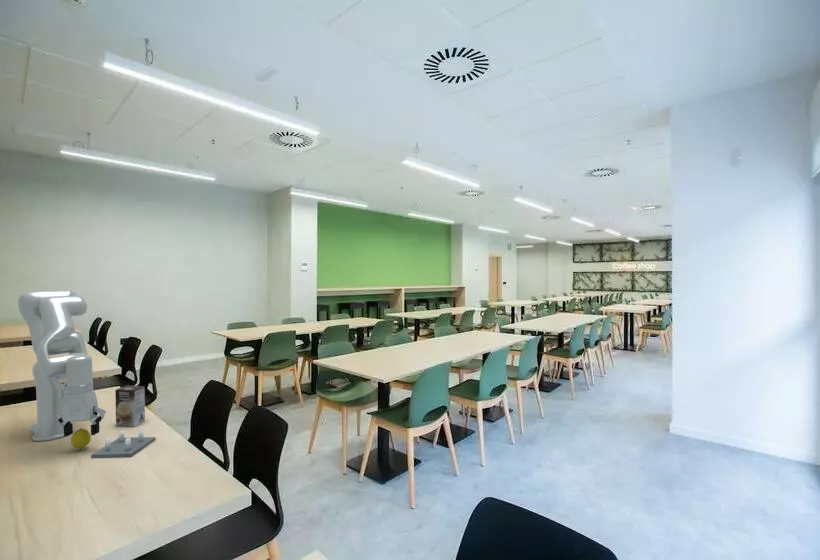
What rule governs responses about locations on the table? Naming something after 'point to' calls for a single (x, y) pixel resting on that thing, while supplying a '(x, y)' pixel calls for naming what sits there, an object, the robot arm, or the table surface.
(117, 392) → the coffee box
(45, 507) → the table surface
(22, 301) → the robot arm
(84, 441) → the lemon
